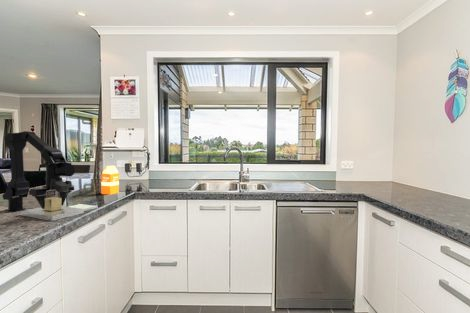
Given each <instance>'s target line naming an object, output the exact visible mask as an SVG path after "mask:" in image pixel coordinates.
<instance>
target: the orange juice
mask: <svg viewBox="0 0 470 313" xmlns="http://www.w3.org/2000/svg"><path fill="white" fill-rule="evenodd" d="M119 180H120V172H119V171H118V169H117V168H116V166H115V165H107V166H105V168H104V169H103V170H102V173H101V182H100V183H101V186H100V187H101V190H100V191H101V195H115V194H119V193H120V191H119V190H120V181H119Z"/></svg>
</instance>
